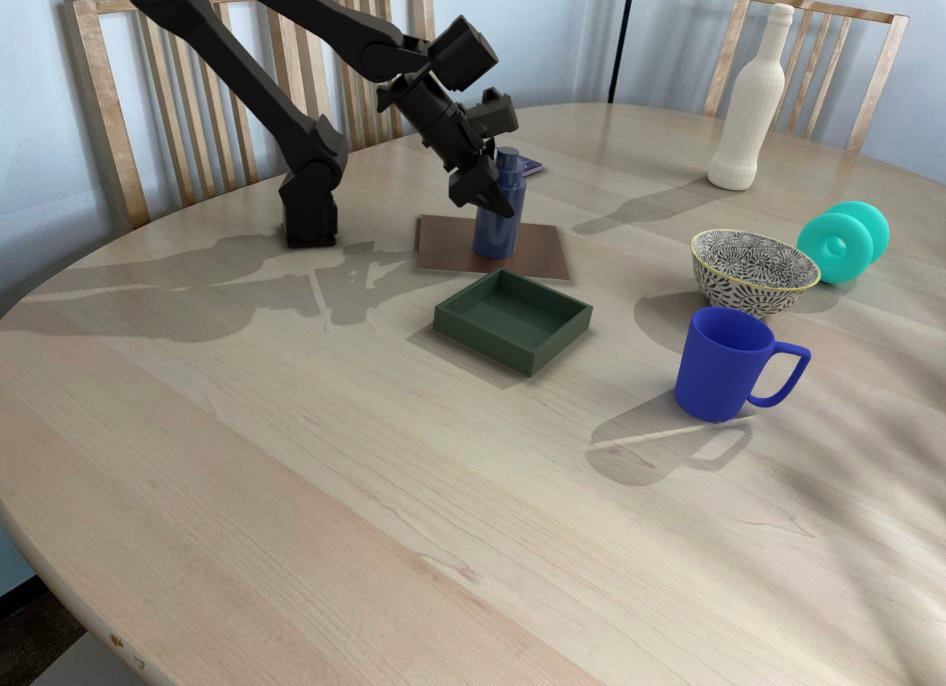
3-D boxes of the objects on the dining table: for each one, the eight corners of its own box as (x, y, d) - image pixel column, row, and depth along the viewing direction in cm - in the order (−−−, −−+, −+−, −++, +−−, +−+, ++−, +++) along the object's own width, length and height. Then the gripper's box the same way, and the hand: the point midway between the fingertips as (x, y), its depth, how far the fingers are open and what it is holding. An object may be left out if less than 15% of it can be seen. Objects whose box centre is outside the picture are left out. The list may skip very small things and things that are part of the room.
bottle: (755, 183, 136) (816, 7, 119) (744, 196, 130) (805, 12, 113) (713, 170, 139) (765, -3, 122) (699, 182, 133) (753, 2, 116)
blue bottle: (501, 263, 99) (516, 163, 91) (463, 248, 101) (475, 149, 93) (523, 248, 103) (540, 151, 95) (487, 234, 106) (500, 138, 98)
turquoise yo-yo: (783, 268, 108) (807, 205, 103) (809, 249, 115) (834, 189, 109) (851, 297, 103) (881, 232, 97) (875, 275, 110) (904, 213, 104)
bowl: (714, 265, 107) (730, 217, 102) (819, 315, 98) (842, 264, 94) (652, 299, 97) (666, 247, 92) (763, 357, 88) (785, 303, 84)
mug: (786, 447, 75) (823, 368, 69) (666, 422, 76) (693, 342, 70) (775, 398, 81) (808, 322, 76) (665, 375, 83) (689, 299, 77)
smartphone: (477, 139, 137) (545, 164, 130) (476, 144, 137) (544, 169, 130) (452, 147, 131) (521, 173, 125) (451, 152, 132) (520, 178, 125)
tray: (432, 332, 85) (434, 306, 83) (496, 290, 94) (500, 265, 92) (529, 381, 79) (535, 354, 77) (587, 331, 89) (593, 306, 86)
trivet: (417, 271, 96) (417, 267, 96) (421, 217, 109) (421, 214, 109) (569, 283, 98) (570, 279, 97) (555, 229, 111) (555, 225, 111)
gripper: (488, 96, 81) (570, 198, 88) (482, 53, 97) (552, 143, 104) (412, 158, 85) (496, 252, 92) (417, 107, 100) (489, 191, 108)
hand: (510, 205), depth 99 cm, fingers closed on blue bottle, 6 cm apart
